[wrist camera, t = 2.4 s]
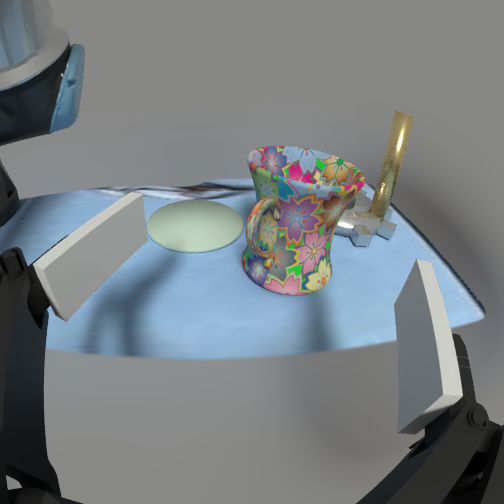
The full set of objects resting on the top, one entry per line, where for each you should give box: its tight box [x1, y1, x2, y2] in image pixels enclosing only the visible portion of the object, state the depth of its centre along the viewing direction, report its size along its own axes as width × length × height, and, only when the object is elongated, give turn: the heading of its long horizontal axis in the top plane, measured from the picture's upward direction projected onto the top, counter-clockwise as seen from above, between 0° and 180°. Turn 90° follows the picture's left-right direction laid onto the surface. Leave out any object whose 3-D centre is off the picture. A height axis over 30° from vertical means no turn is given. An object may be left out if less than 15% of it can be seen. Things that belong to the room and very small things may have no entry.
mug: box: [242, 146, 365, 295], centre depth 23 cm, size 12×9×11 cm
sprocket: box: [334, 111, 414, 246], centre depth 33 cm, size 15×15×16 cm
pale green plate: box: [147, 200, 243, 253], centre depth 32 cm, size 11×11×1 cm
